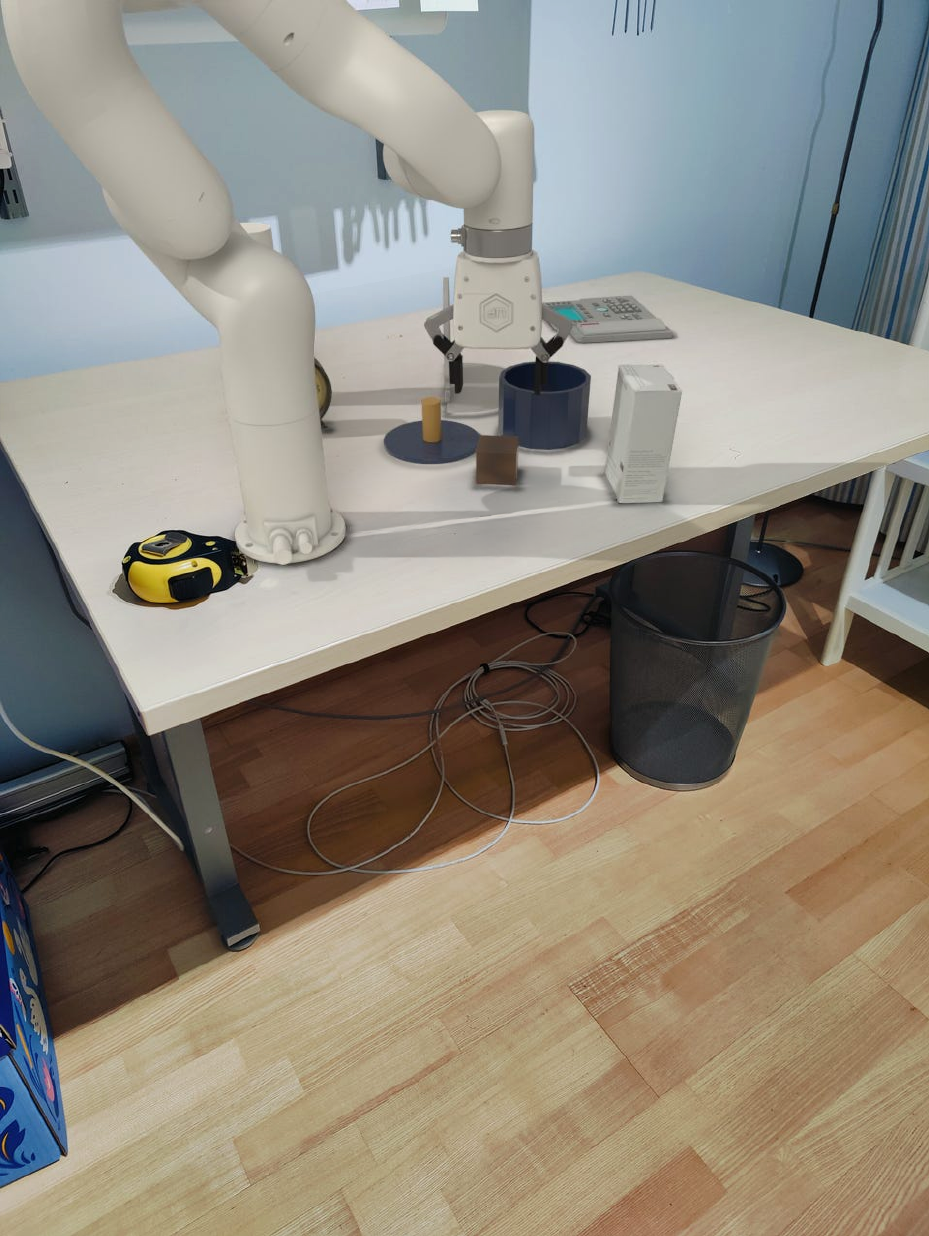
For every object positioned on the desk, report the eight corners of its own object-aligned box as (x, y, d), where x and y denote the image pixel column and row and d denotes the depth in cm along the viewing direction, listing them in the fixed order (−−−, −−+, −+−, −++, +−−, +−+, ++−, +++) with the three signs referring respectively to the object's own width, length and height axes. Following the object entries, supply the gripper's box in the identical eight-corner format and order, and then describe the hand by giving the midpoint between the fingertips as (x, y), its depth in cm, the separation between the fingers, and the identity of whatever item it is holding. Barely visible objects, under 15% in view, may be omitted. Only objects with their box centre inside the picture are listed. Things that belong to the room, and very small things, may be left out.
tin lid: (491, 461, 116) (492, 414, 112) (393, 473, 114) (390, 425, 110) (467, 423, 127) (467, 378, 123) (377, 432, 124) (373, 387, 120)
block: (517, 471, 114) (518, 436, 111) (515, 489, 109) (516, 452, 107) (479, 470, 114) (479, 434, 111) (476, 487, 110) (476, 451, 107)
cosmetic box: (603, 475, 112) (614, 363, 104) (648, 473, 113) (663, 361, 104) (618, 506, 106) (631, 388, 97) (667, 503, 106) (684, 386, 97)
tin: (599, 447, 119) (604, 388, 114) (512, 457, 117) (514, 397, 112) (569, 413, 129) (572, 357, 124) (489, 422, 127) (489, 365, 122)
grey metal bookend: (446, 365, 146) (444, 261, 137) (524, 364, 146) (527, 260, 137) (445, 416, 129) (442, 301, 119) (534, 415, 129) (538, 300, 119)
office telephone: (675, 324, 156) (568, 331, 153) (673, 338, 158) (567, 346, 155) (632, 288, 174) (535, 294, 172) (630, 301, 176) (535, 307, 173)
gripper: (415, 249, 93) (423, 401, 103) (577, 249, 91) (569, 403, 101) (425, 233, 99) (432, 377, 109) (577, 232, 97) (569, 380, 108)
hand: (498, 390), depth 105 cm, fingers open, 9 cm apart
